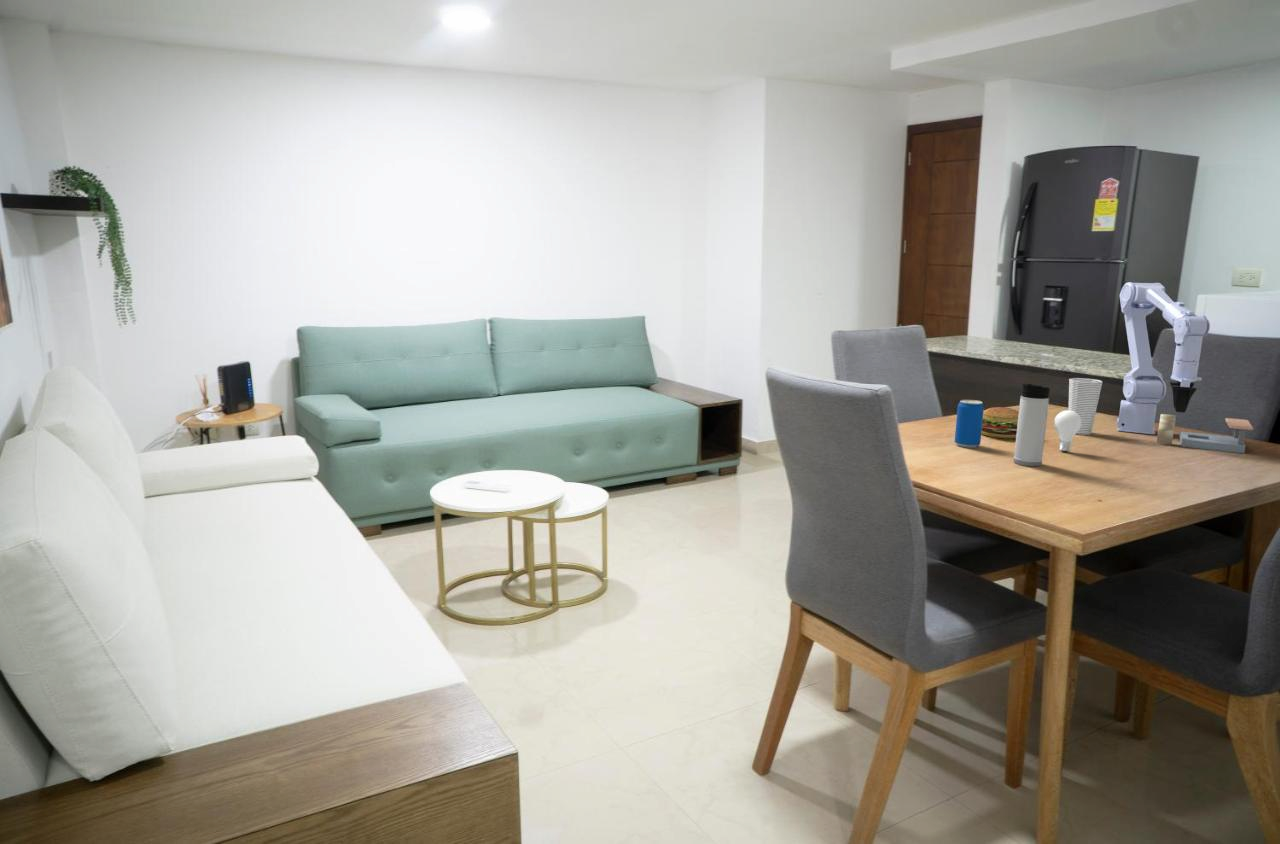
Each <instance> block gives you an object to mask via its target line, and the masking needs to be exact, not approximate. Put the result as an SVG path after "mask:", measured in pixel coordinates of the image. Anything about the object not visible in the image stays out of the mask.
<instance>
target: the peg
mask: <svg viewBox="0 0 1280 844" xmlns="http://www.w3.org/2000/svg"><path fill="white" fill-rule="evenodd" d="M1159 416H1160V417H1159V424H1158V429H1157V438H1156V445H1157V444H1158V445H1161V446H1162V445H1163V446H1172V445H1173V441H1174V440H1173V439H1174V432H1175V425H1176V420H1177V419H1176V418H1177V416H1176V415H1174V414H1167V413H1166V414H1165V413H1161V414H1160V415H1159Z"/></svg>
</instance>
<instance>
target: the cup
mask: <svg viewBox="0 0 1280 844" xmlns="http://www.w3.org/2000/svg"><path fill="white" fill-rule="evenodd" d="M1068 380H1069V382H1068V383H1069V384H1068V409H1067V410H1071V411H1074V412H1076V413H1077V414H1078V415H1079V416H1080V417H1081V421H1082V424H1081V427H1080V429H1079V430H1078V432H1077V433H1076V434H1075V435H1083V436H1086V435H1088V436H1089V435H1091V434H1092V430H1093V427H1094V426H1093V425H1094V421H1095V418H1096V417H1095V416H1096V412H1097V407H1098V403H1099V399H1100V394H1101V390H1102V386H1103V381H1102V380H1100V379H1094V378H1086V377H1085V378H1084V377H1083V378H1082V377H1073V378H1072V377H1071V378H1069V379H1068Z"/></svg>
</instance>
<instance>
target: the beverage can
mask: <svg viewBox="0 0 1280 844" xmlns="http://www.w3.org/2000/svg"><path fill="white" fill-rule="evenodd" d="M984 409H985V407H984V405H983V402H982V401H981V400H975V399H961V400H960V401H959V403H957V409H956V410H957V411H956V412H957V413H956V422H955V430H954V431H955V433H954V444H956V445H957V446H958V447H961V448H967V449H968V448H970V449H973V448H978V446H980V445H981V439H982V434H981V432H982V421H983V412H984V411H985V410H984Z"/></svg>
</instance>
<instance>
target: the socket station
mask: <svg viewBox="0 0 1280 844" xmlns="http://www.w3.org/2000/svg"><path fill="white" fill-rule="evenodd" d="M1224 420H1225V423H1226V424H1227V426H1228V427H1229V428H1230V429H1234V432H1233V436H1231V435H1224V434H1223V435H1222V434H1221V435H1220V434H1211V433H1203V432H1202V433H1201V432H1193V431H1182V430H1180V432H1179V437H1178V438H1180V439H1179V442H1180V446H1181V447H1182V448H1191V449H1192V448H1193V449H1199V450H1200V449H1201V450H1209V451H1210V450H1211V451H1217V452H1218V451H1219V452H1227V453H1228V452H1229V453H1238V454H1245V452H1246V444H1245V443H1244V442H1245V438H1246V431H1248V430H1249V431H1253V430H1254V427H1253V426H1252V424H1251V423H1250V421H1249V420H1248V419H1241V418H1230V417H1225V419H1224Z"/></svg>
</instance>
